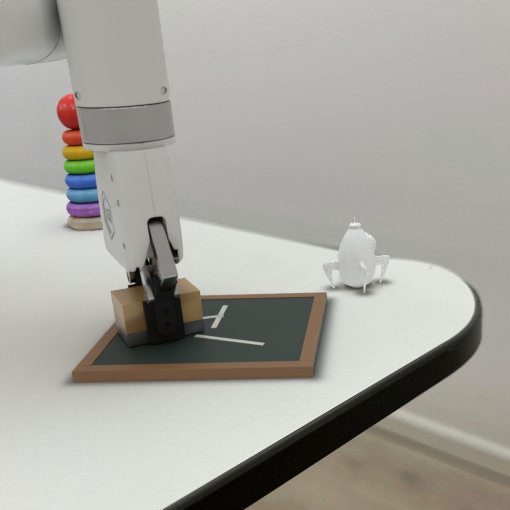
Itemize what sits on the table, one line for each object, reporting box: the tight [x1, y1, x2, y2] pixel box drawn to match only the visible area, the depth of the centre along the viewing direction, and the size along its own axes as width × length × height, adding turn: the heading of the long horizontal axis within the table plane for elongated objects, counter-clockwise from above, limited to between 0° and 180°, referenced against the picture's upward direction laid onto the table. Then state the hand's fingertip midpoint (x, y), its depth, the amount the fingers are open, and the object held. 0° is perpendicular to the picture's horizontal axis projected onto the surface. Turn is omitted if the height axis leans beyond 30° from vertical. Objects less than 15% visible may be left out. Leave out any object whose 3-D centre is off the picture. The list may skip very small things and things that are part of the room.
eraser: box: [110, 277, 205, 347], centre depth 70 cm, size 7×4×4 cm, turn 119°
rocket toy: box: [322, 216, 391, 294], centre depth 82 cm, size 5×5×8 cm
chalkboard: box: [71, 291, 328, 383], centre depth 72 cm, size 20×18×1 cm
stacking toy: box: [56, 93, 103, 231], centre depth 111 cm, size 8×8×19 cm
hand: (159, 329), depth 71 cm, fingers closed on eraser, 4 cm apart
